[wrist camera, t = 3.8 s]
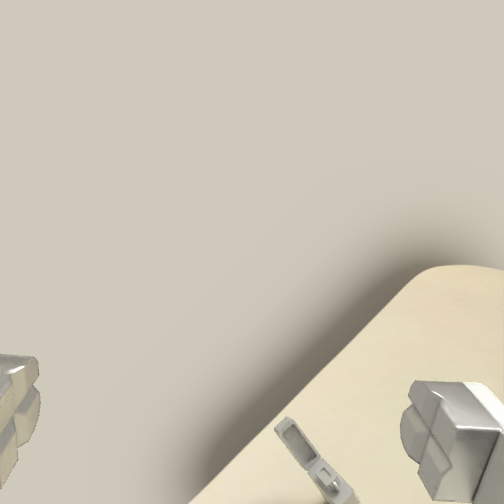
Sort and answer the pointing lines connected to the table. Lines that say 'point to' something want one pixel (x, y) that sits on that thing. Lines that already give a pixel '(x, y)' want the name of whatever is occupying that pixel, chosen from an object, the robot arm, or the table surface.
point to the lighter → (315, 464)
